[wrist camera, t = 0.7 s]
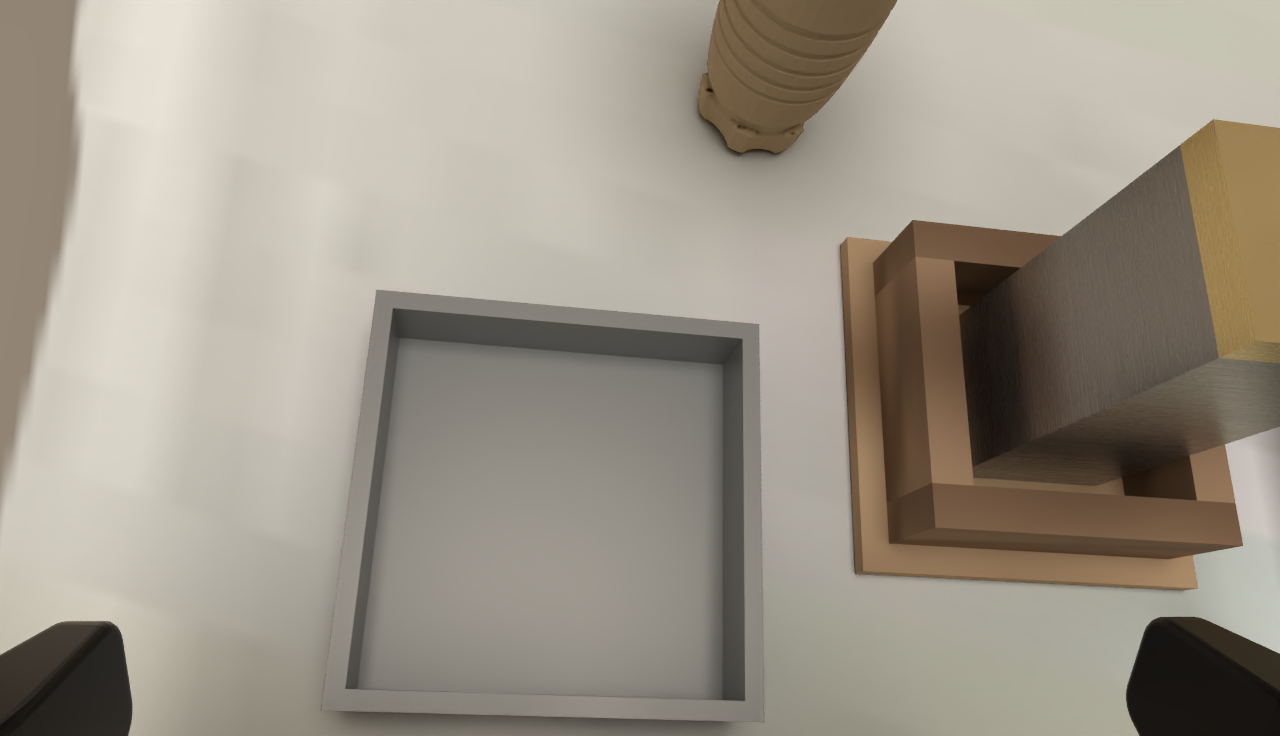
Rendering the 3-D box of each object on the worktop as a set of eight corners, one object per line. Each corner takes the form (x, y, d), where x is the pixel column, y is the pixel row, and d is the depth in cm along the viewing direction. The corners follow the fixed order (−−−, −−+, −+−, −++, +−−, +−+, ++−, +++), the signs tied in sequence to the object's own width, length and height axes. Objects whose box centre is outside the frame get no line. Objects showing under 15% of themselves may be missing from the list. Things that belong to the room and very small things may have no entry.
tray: (732, 718, 22) (764, 722, 19) (338, 707, 20) (320, 710, 18) (732, 358, 24) (758, 324, 22) (386, 330, 23) (376, 289, 21)
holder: (1183, 590, 24) (1275, 578, 22) (855, 573, 23) (907, 557, 20) (1134, 275, 27) (1209, 229, 25) (840, 245, 26) (884, 192, 23)
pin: (1095, 485, 24) (1478, 361, 15) (951, 476, 24) (1257, 340, 14) (1076, 342, 26) (1418, 146, 16) (940, 330, 25) (1213, 119, 16)
